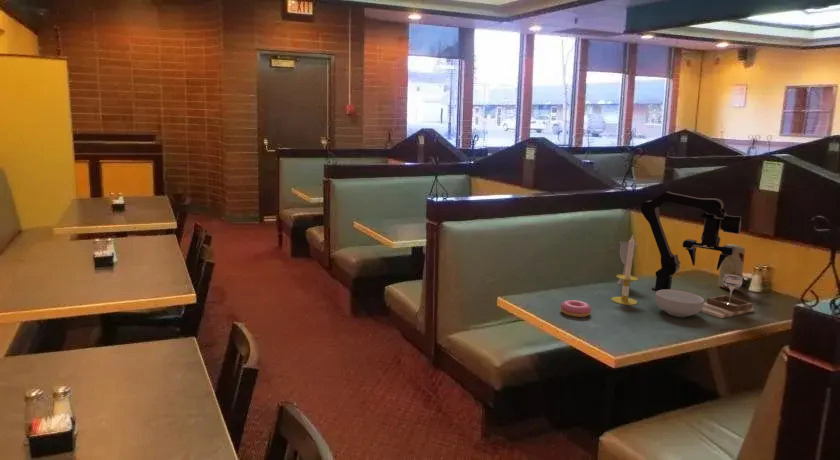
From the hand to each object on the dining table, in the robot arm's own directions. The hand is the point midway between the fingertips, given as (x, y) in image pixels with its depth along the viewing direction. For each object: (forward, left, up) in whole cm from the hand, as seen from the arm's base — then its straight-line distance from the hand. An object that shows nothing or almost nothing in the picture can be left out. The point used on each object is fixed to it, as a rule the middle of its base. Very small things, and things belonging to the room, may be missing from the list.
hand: (705, 267), depth 257 cm
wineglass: (-2, -13, -12) cm, 18 cm away
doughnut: (-65, +7, -13) cm, 67 cm away
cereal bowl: (-28, -9, -13) cm, 32 cm away
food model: (+26, +4, -13) cm, 29 cm away
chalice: (-14, +28, -13) cm, 34 cm away
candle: (-35, +10, -13) cm, 39 cm away
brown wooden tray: (-6, -13, -13) cm, 19 cm away
